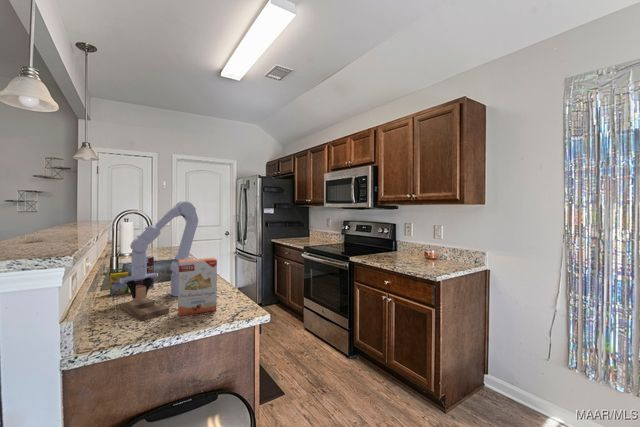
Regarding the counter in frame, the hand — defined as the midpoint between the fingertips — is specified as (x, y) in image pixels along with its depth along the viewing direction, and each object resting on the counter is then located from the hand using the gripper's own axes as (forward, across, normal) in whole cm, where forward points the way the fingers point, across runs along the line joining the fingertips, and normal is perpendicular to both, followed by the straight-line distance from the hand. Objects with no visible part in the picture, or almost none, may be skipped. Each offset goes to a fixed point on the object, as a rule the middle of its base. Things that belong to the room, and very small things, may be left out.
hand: (139, 296), depth 133 cm
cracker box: (+2, -9, +33) cm, 34 cm away
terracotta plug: (+2, 0, 0) cm, 2 cm away
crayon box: (+2, +2, -18) cm, 18 cm away
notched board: (+2, +4, +16) cm, 17 cm away
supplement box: (+2, -8, -16) cm, 18 cm away
